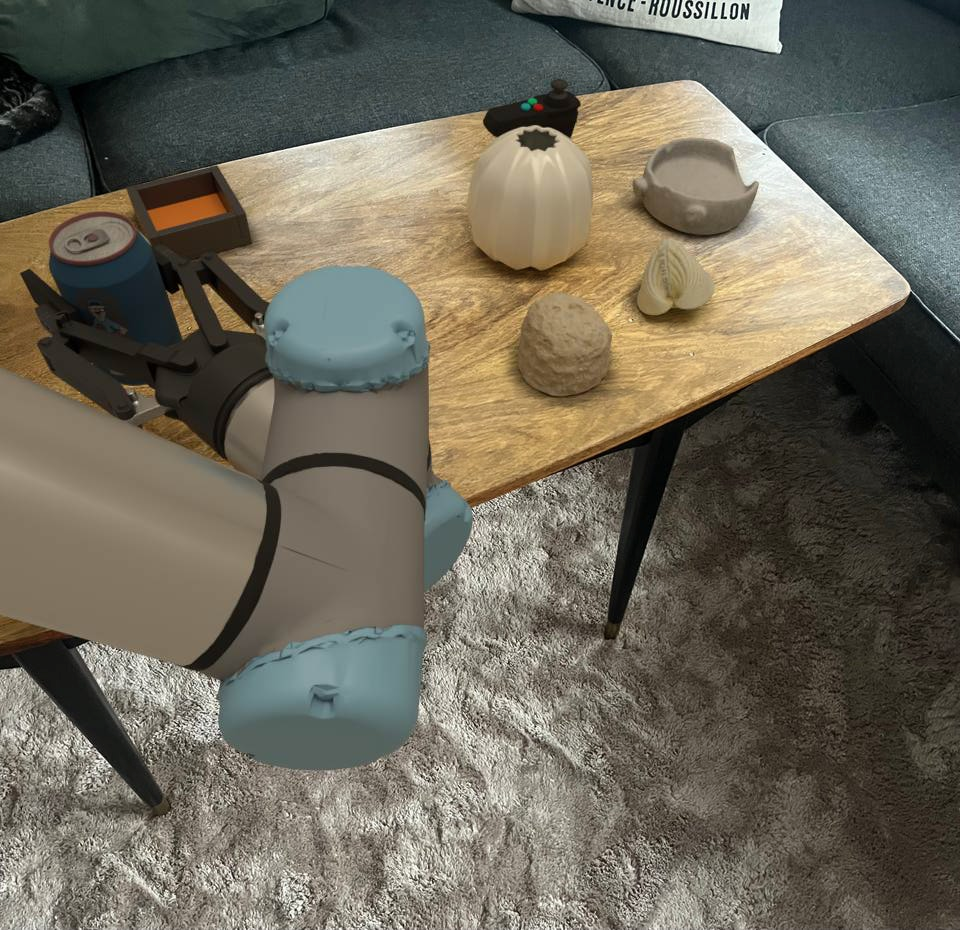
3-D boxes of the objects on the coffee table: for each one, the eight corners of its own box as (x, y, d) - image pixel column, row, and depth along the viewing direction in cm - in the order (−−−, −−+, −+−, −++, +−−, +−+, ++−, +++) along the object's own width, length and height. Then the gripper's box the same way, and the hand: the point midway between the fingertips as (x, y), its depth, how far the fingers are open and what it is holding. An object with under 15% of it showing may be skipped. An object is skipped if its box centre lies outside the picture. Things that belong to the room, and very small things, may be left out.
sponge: (570, 361, 89) (532, 278, 85) (643, 355, 82) (606, 264, 78) (521, 411, 84) (478, 326, 80) (595, 409, 77) (552, 316, 73)
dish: (699, 162, 107) (708, 125, 103) (774, 217, 100) (788, 180, 96) (609, 193, 102) (616, 155, 98) (682, 254, 95) (692, 216, 91)
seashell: (627, 311, 85) (625, 237, 86) (645, 334, 93) (643, 266, 94) (708, 299, 82) (705, 223, 83) (720, 325, 89) (717, 254, 91)
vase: (525, 302, 89) (535, 192, 78) (442, 241, 95) (442, 131, 85) (613, 252, 95) (633, 143, 84) (529, 197, 101) (538, 90, 91)
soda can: (166, 320, 69) (122, 195, 60) (201, 369, 66) (160, 244, 57) (84, 353, 67) (25, 226, 57) (116, 405, 63) (58, 280, 54)
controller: (578, 162, 106) (588, 86, 98) (492, 184, 103) (496, 107, 95) (562, 146, 109) (570, 70, 101) (477, 167, 105) (479, 90, 97)
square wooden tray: (159, 268, 91) (149, 238, 88) (136, 217, 96) (125, 187, 93) (252, 243, 94) (245, 212, 91) (224, 195, 100) (217, 164, 97)
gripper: (151, 544, 52) (-26, 363, 61) (384, 381, 61) (200, 246, 71) (113, 470, 46) (-76, 282, 55) (377, 302, 55) (177, 166, 65)
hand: (79, 262), depth 63 cm, fingers closed on soda can, 7 cm apart
